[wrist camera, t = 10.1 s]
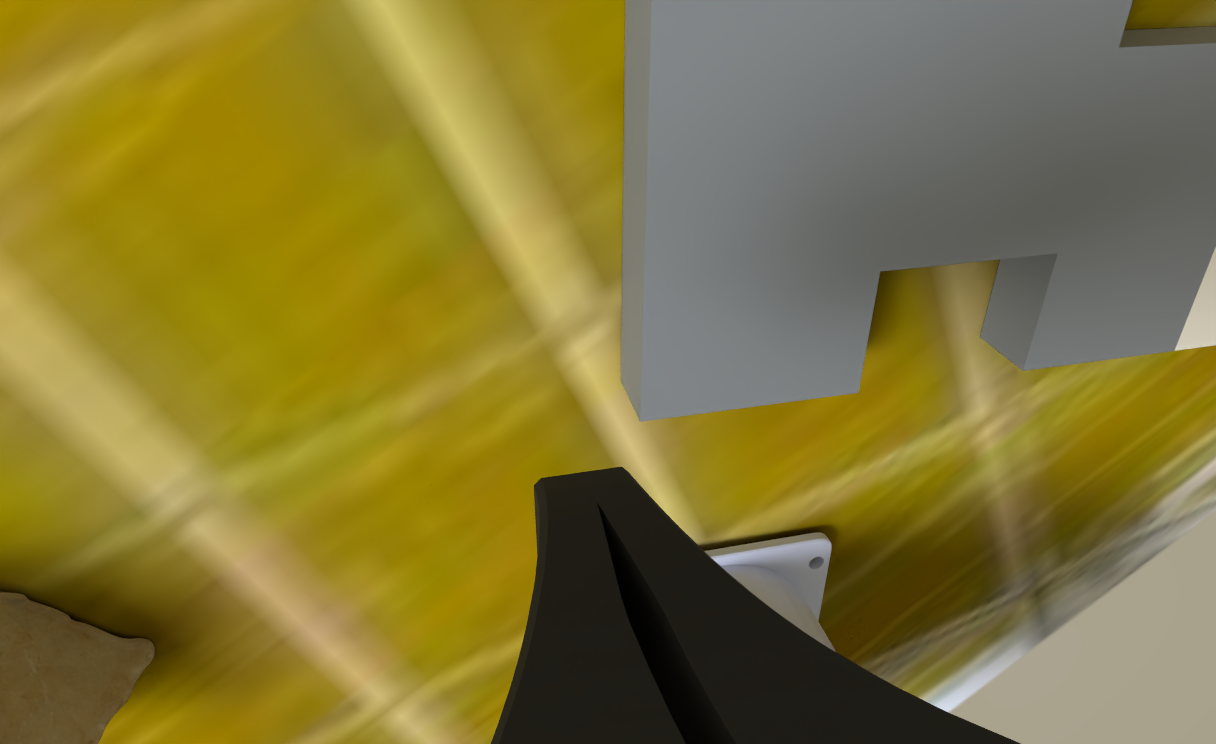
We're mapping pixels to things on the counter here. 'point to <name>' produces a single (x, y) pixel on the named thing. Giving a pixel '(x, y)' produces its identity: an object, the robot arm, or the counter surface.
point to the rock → (61, 674)
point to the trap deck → (905, 185)
